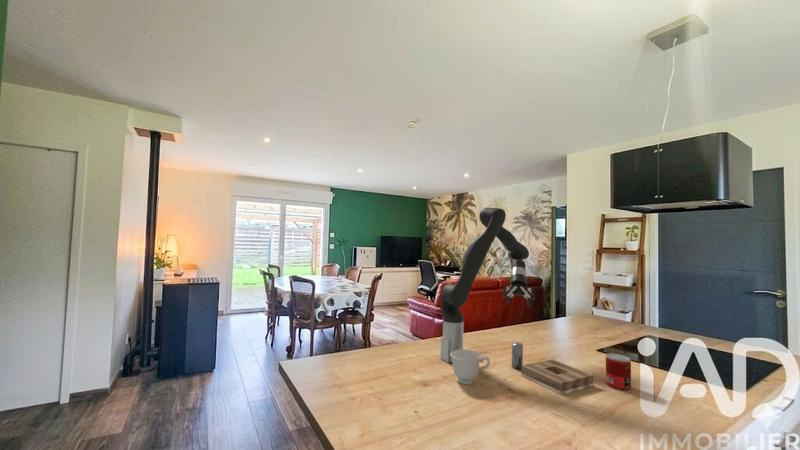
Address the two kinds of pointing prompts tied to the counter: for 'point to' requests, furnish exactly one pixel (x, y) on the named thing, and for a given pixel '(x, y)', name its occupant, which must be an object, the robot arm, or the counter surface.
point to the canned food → (618, 371)
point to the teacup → (467, 364)
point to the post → (517, 355)
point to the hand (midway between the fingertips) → (518, 305)
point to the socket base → (557, 376)
